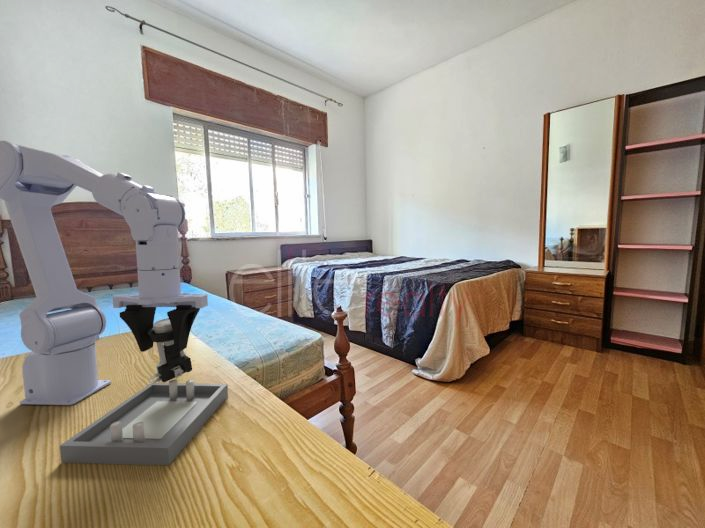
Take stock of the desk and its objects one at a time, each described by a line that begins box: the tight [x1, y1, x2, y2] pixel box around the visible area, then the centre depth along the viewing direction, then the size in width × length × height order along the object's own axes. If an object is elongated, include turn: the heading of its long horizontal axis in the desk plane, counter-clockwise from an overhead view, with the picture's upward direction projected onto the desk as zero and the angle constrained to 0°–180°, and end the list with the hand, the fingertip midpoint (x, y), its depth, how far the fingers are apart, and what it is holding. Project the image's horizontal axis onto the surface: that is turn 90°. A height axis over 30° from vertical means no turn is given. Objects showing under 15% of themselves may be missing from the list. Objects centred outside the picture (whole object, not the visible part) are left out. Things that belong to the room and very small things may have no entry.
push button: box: [147, 317, 193, 385], centre depth 49 cm, size 7×5×10 cm
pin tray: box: [59, 379, 229, 466], centre depth 44 cm, size 14×16×4 cm
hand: (163, 349), depth 48 cm, fingers closed on push button, 5 cm apart
